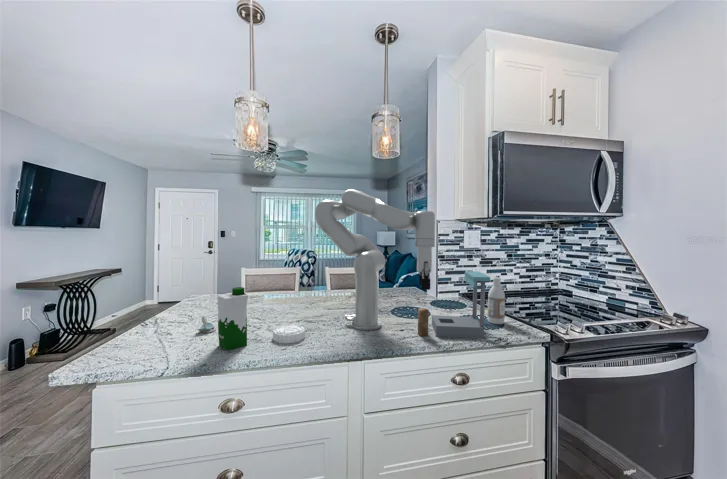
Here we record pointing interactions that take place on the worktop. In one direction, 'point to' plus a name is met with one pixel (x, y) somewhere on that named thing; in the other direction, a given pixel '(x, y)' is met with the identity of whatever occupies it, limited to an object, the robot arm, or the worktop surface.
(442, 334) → the socket block
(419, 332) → the peg
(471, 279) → the teal-topped post gate
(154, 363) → the worktop surface
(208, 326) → the pacifier
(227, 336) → the milk carton
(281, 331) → the mooncake
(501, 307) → the bath foam
